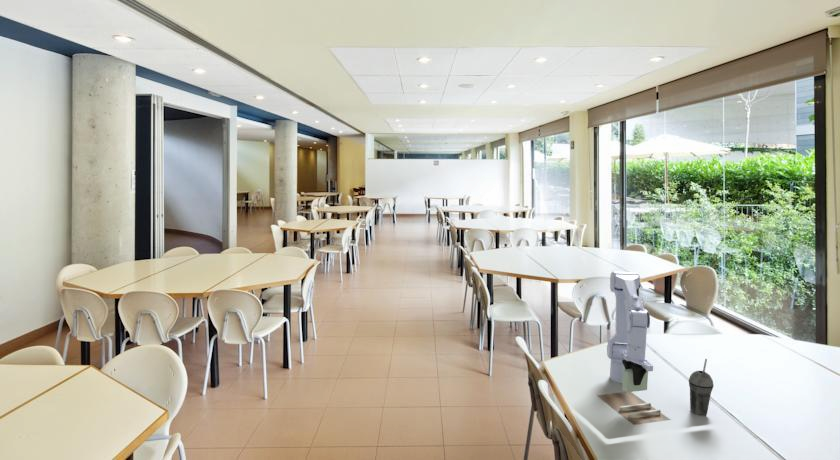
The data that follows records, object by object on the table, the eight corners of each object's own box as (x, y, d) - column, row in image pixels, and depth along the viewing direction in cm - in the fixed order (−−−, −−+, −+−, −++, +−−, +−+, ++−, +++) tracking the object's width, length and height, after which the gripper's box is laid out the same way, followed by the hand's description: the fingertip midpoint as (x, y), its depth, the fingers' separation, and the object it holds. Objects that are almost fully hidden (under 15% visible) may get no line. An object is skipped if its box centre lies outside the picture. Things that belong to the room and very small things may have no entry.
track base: (629, 394, 170) (630, 387, 169) (670, 422, 150) (670, 415, 150) (596, 398, 167) (596, 391, 166) (633, 428, 147) (634, 420, 147)
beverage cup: (681, 410, 158) (685, 355, 156) (700, 409, 159) (705, 354, 157) (695, 421, 151) (700, 364, 149) (716, 420, 152) (721, 363, 149)
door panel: (641, 386, 159) (643, 367, 158) (646, 390, 157) (648, 370, 156) (621, 389, 157) (622, 369, 157) (626, 392, 155) (627, 372, 154)
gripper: (612, 338, 161) (610, 374, 163) (640, 353, 147) (638, 393, 149) (630, 336, 163) (627, 373, 164) (659, 352, 149) (656, 391, 150)
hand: (634, 382), depth 157 cm, fingers closed on door panel, 2 cm apart
